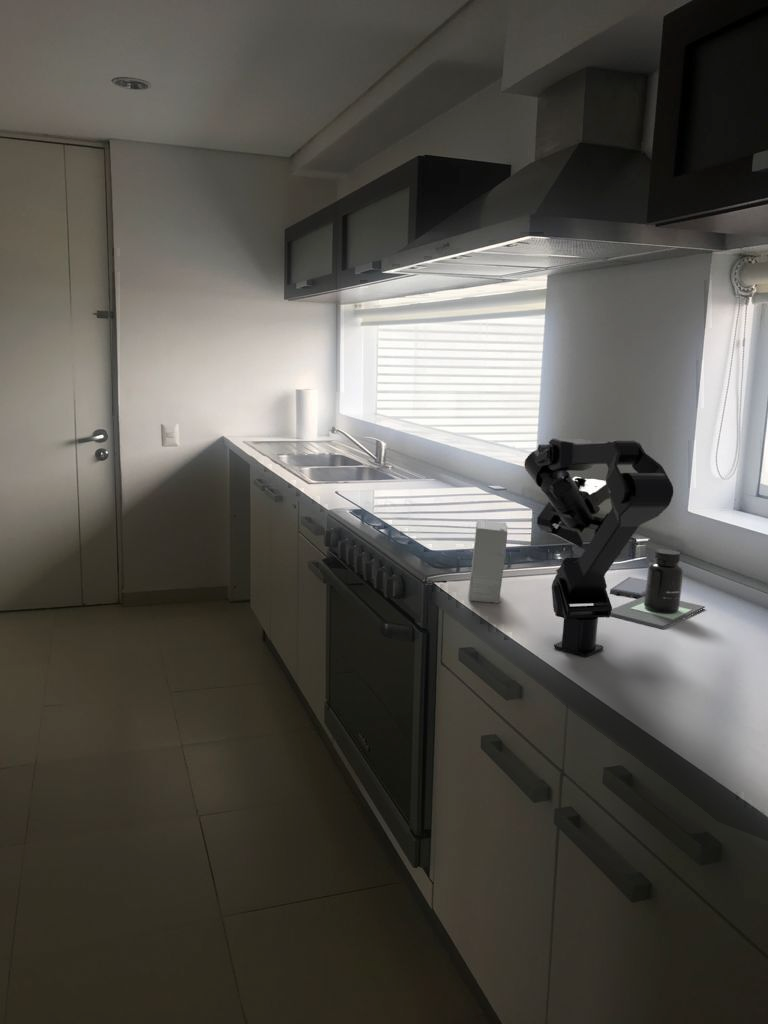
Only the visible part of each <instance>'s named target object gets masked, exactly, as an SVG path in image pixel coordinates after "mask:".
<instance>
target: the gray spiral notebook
mask: <svg viewBox="0 0 768 1024" xmlns="http://www.w3.org/2000/svg"><path fill="white" fill-rule="evenodd" d="M644 600H645V596H644V597H641V598H635V599H634V600H631V601H629V602H626V603H624V604H621V605H619V606H617V607H614V608H613V607H612V611H611V614H610V616H611V617H615V618H618V619H621V620H622V619H624V620H627V621H631V622H634V623H638V624H643V625H646V626H650V627H653V628H654V627H655V628H658V629H661V630H663V629H665V628H667V627H669V626H671V625H674V624H676V623H679V622H680V621H682V620H684V619H683V618H685V619H686V617H687V618H689V617H691V616H692V614H693V615H695V614H697V613H698V612H697V611H699V610H701V609H703V608H705V607H706V606H705V605H700V604H697V603H693V602H688V601H682V600H680V604H679V610H678V611H677V612H676V613H669V614H668V613H658V612H654V611H650V610H648V609H646V608H645V606H644ZM696 612H697V613H696ZM699 612H700V611H699ZM694 613H695V614H694ZM690 615H691V616H690ZM688 616H689V617H688Z"/></svg>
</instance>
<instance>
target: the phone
mask: <svg viewBox="0 0 768 1024" xmlns="http://www.w3.org/2000/svg"><path fill="white" fill-rule="evenodd" d="M646 582H647V579H644V578H636V577H631V576H628V577H627V578H625V579H624V580H622V581H621V582H619V583H618V584H617V585H615V586H613V587H612V588H610V589H609V593H610V594H612V593H614V595H616V594H615V592H617V591H618V592H619V593H620V595H619V596H623V595H625V596H624V597H629V596H632V597H631V598H634V597H635V595H638V598H637V599H639V598H641V597H644V596H645V591H646Z"/></svg>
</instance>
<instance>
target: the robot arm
mask: <svg viewBox="0 0 768 1024" xmlns="http://www.w3.org/2000/svg"><path fill="white" fill-rule="evenodd" d="M523 465H524V466H523V467H524V469H525V471H526V472H527V473H528V474H529V477H531V479H532V480H533V481H534V482H535V484H536V485H537V486H538V487H539V488H541V491H542V493H543V494H544V495H545V497H546V499H547V500H548V502H547V504H546V505H545V507H544V508H543V509H542V511H541V512H540V514H539V515H538V516H537V518H536V525H537V526H538V527H539V529H540V530H541V531H544V532H547V534H551V535H553V536H555V537H557V538H558V539H559V538H560V539H561V540H563V541H566V542H567V543H570V544H571V545H574V546H575V547H578V548H581V547H583V545H584V541H583V540H582V537H581V536H580V534H581V533H582V532H583V531H584V530H585V529H591V530H594V535H593V537H592V539H591V540H590V542H589V544H587V547H586V548H585V549H584V551H583V553H582V554H581V556H580V557H565V558H564V559H563V560H562V563H561V564H560V566H559V568H557V569H556V570H555V572H556V575H555V577H554V579H553V580H552V583H551V596H552V607H553V612H554V613H555V616H556V617H559V618H562V619H563V626H562V635H561V637H562V639H561V641H559V642H556V643H554V644H553V648H554V647H555V648H554V649H558V650H560V649H561V650H562V651H564V652H567V653H570V654H574V655H578V656H581V657H589V656H591V655H594V654H595V653H598V652H600V651H603V650H604V645H601V644H597V635H598V622H599V619H600V618H607V619H609V618H610V614H611V611H612V609H613V606H612V603H611V601H610V597H609V594H608V591H607V588H608V585H607V582H606V577H605V575H606V574H607V572H608V571H609V570H610V568H611V566H613V564H614V562H615V561H616V559H617V558H618V557H619V556H620V555H621V553H622V551H623V549H624V548H625V546H626V545H627V544H628V542H629V541H630V539H632V537H633V536H634V534H635V533H636V531H637V530H638V528H639V527H640V526H641V525H642V524H645V523H648V522H649V521H651V520H653V519H656V518H658V517H659V516H660V515H661V514H663V512H664V511H665V510H667V508H668V507H669V506H670V504H671V502H672V501H673V497H674V486H673V484H672V482H671V479H670V478H669V476H668V474H667V472H666V470H665V469H664V467H663V466H662V465H661V463H659V462H658V461H656V459H654V458H653V457H651V456H650V455H649V454H647V453H646V452H645V450H644V448H643V447H642V445H641V444H640V442H638V441H636V440H633V439H611V440H609V441H602V442H601V441H599V442H596V441H595V442H593V441H591V440H589V439H586V438H551V439H550V440H549V441H548V444H538V447H537V449H535V450H534V451H532V452H530V454H529V455H528V456H527V457H526V458H525V460H524V463H523ZM593 465H606V466H607V474H606V478H605V480H601V479H597V478H583V477H579V476H574V477H572V476H571V474H570V473H569V472H570V471H571V472H573V471H575V472H577V471H581V472H582V471H586V470H588V469H591V468H592V467H593ZM619 466H631V467H632V469H633V470H634V471H635V472H621V470H620V468H619ZM607 500H610V504H611V509H610V511H609V513H606V514H605V516H604V517H600V516H596V515H595V514H598V513H599V511H600V510H601V508H600V507H599V505H601V504H603V502H605V501H607ZM579 533H580V534H579ZM584 604H585V605H584ZM587 604H588V605H587ZM589 604H590V605H589ZM591 604H593V605H591ZM571 605H573V606H571ZM561 650H560V651H561Z"/></svg>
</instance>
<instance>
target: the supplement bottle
mask: <svg viewBox="0 0 768 1024" xmlns="http://www.w3.org/2000/svg"><path fill="white" fill-rule="evenodd" d="M653 557H654V558H653V560H655V561H654V562H652V563H650V564H649V565H648V567H647V575H646V576H647V577H646V580H647V582H646V591H645V600H644V606H645V608H646V609H648V610H650V611H654V612H658V613H668V614H669V613H676V612H677V611H678V610H679V604H680V601H681V597H682V596H681V595H682V587H683V579H684V569H683V567H682V566H681V565H680V564H679V563H680V562H681V553H680V552H679V551H676V550H671V549H661V548H660V549H656V550H655V552H654V556H653Z"/></svg>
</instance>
